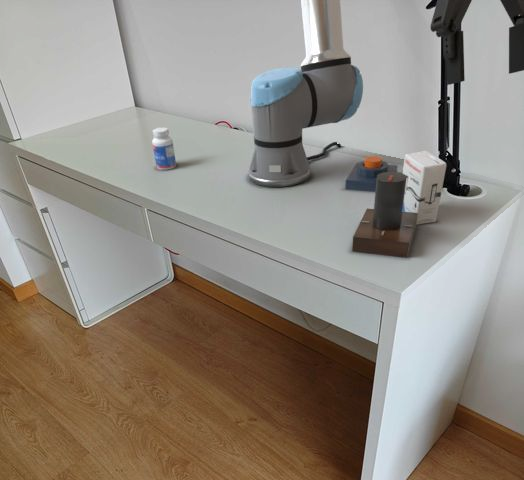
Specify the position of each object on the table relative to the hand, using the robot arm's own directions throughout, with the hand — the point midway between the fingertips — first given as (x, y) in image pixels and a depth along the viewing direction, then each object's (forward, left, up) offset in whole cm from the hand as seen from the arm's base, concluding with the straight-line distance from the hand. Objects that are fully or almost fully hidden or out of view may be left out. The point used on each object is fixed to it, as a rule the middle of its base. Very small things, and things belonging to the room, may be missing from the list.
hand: (487, 77), depth 77 cm
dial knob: (+3, -13, -24) cm, 28 cm away
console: (+3, -13, -27) cm, 30 cm away
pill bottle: (-26, -77, -27) cm, 85 cm away
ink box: (-9, -8, -27) cm, 30 cm away
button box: (-26, -21, -27) cm, 43 cm away
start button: (-26, -21, -24) cm, 40 cm away
